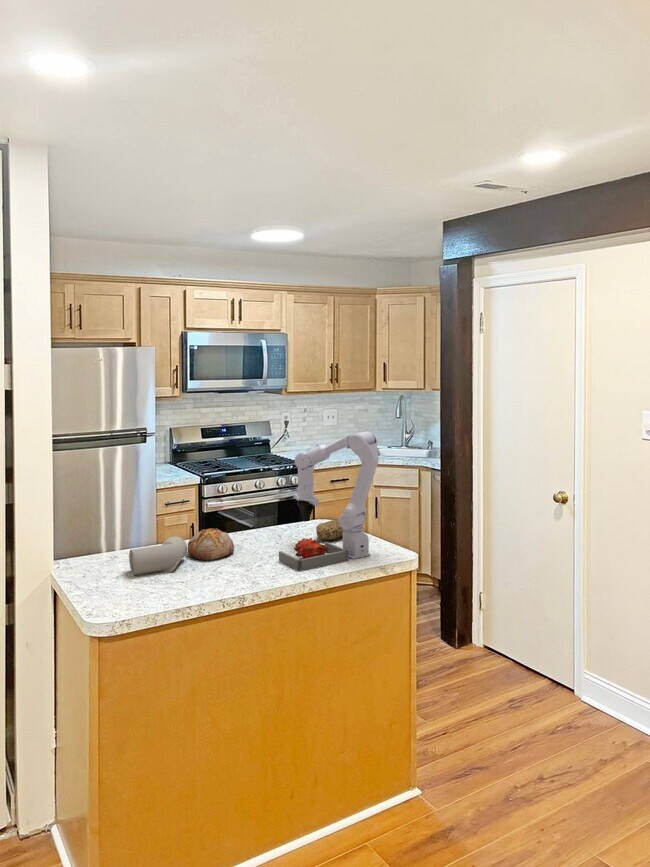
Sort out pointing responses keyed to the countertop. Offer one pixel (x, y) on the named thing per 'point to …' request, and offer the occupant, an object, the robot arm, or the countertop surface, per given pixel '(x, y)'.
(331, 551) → the box
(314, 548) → the dragon fruit
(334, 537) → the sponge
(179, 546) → the l-shaped cylinder
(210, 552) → the bread
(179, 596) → the countertop surface
